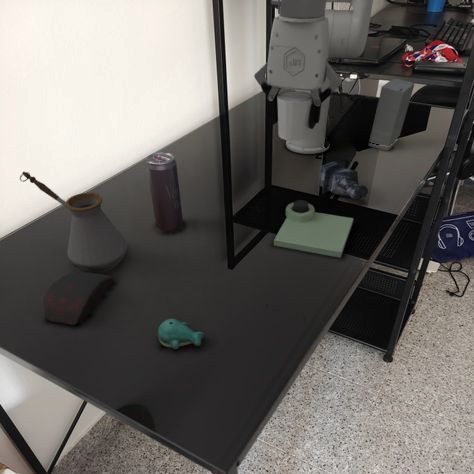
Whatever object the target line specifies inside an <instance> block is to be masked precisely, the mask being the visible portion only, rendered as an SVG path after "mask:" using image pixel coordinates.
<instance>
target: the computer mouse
mask: <svg viewBox="0 0 474 474" xmlns="http://www.w3.org/2000/svg"><path fill="white" fill-rule="evenodd" d="M113 282H114V277H113V276H111V275H106V274H103V273H99V272H89V271H88V272H85V271H79V272H71V273H67V274H64V275H63V276H61V277H60V278H58V279H56V281H54V282H53V283H52V285H51V286H49V288H48V290H47V291H46V293H45V295H44V298H43V311H44V314H45V318H46V320H48V321H49V322H52V323H58V324H64V325H69V326H76V325H78V324H80V323H81V322H82V321H83V320H84V319H86V317H88V315H90V313H91V312H92V310H93V309H94V308H95V306H96V305H97V304H98V302H99V301H100V300H101V298H102V297H103V296H104V295H105V293H106V292H107V291H108V289H109V288H110V286H111V285H112V283H113Z"/></svg>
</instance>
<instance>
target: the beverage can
mask: <svg viewBox="0 0 474 474" xmlns="http://www.w3.org/2000/svg"><path fill="white" fill-rule="evenodd" d="M145 161H146V162H145V166H146V173H147V180H148V185H149V190H150V197H151V203H152V209H153V216H154V220H155V221H154V222H155V227H156V228H157V229H158V231H160V232H161V233H162V232H163V233H169V234H170V233H175V232H177V231H179V230H181V229H182V227H183V225H184V218H183V210H182V208H183V207H182V201H181V193H180V184H179V174H178V165H177V161H176V157H175V155H174V154H173V153H170V152H155V153H152V154H149V155H148V156H147V157H146V158H145Z"/></svg>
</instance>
